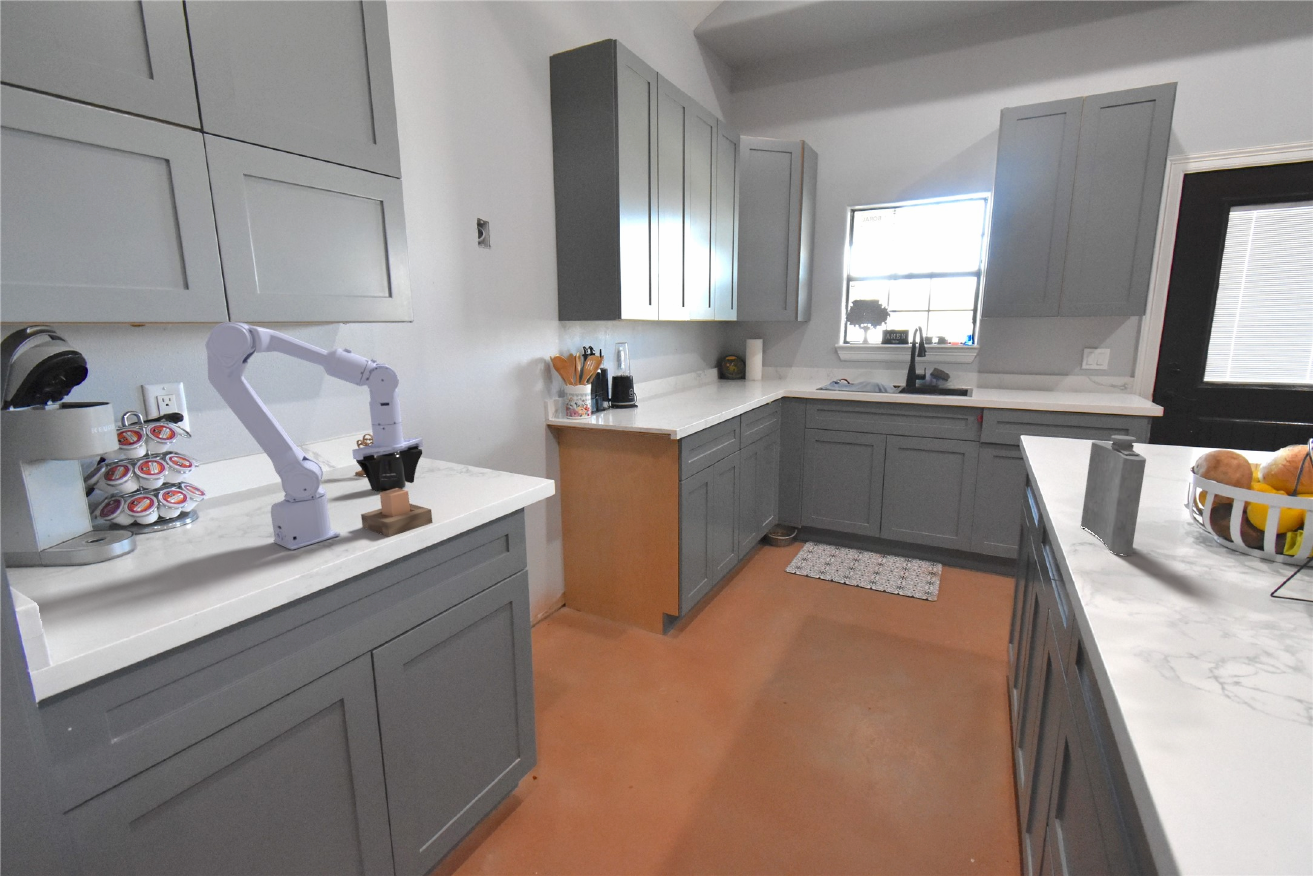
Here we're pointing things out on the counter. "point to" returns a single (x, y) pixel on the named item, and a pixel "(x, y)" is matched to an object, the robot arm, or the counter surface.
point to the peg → (395, 502)
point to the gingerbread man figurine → (364, 445)
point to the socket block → (396, 520)
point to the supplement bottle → (391, 471)
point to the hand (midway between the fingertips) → (393, 486)
